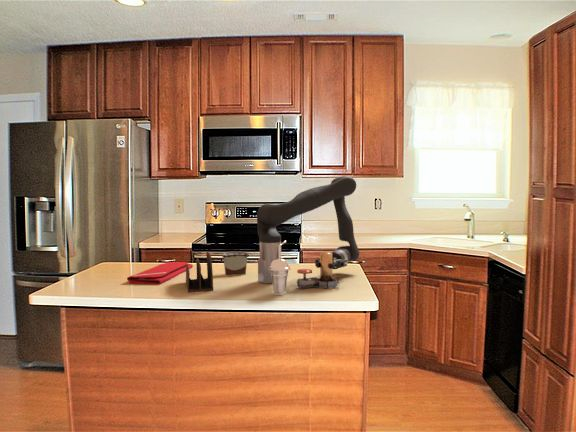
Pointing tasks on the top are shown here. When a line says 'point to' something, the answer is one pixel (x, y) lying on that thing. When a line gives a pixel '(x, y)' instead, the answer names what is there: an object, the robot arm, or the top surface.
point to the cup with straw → (279, 274)
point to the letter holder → (200, 277)
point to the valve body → (313, 281)
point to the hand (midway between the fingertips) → (324, 265)
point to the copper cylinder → (325, 266)
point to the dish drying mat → (159, 273)
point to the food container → (235, 263)
